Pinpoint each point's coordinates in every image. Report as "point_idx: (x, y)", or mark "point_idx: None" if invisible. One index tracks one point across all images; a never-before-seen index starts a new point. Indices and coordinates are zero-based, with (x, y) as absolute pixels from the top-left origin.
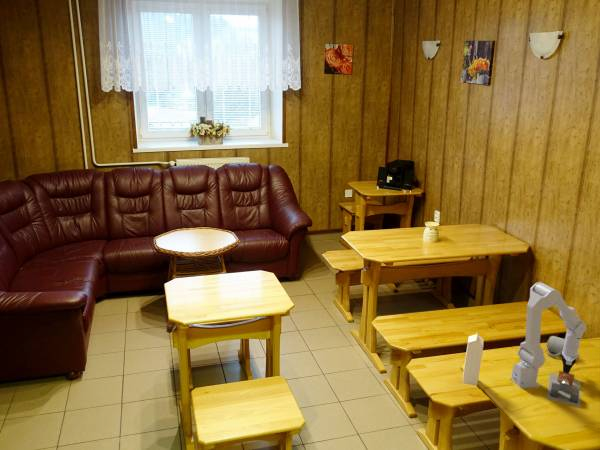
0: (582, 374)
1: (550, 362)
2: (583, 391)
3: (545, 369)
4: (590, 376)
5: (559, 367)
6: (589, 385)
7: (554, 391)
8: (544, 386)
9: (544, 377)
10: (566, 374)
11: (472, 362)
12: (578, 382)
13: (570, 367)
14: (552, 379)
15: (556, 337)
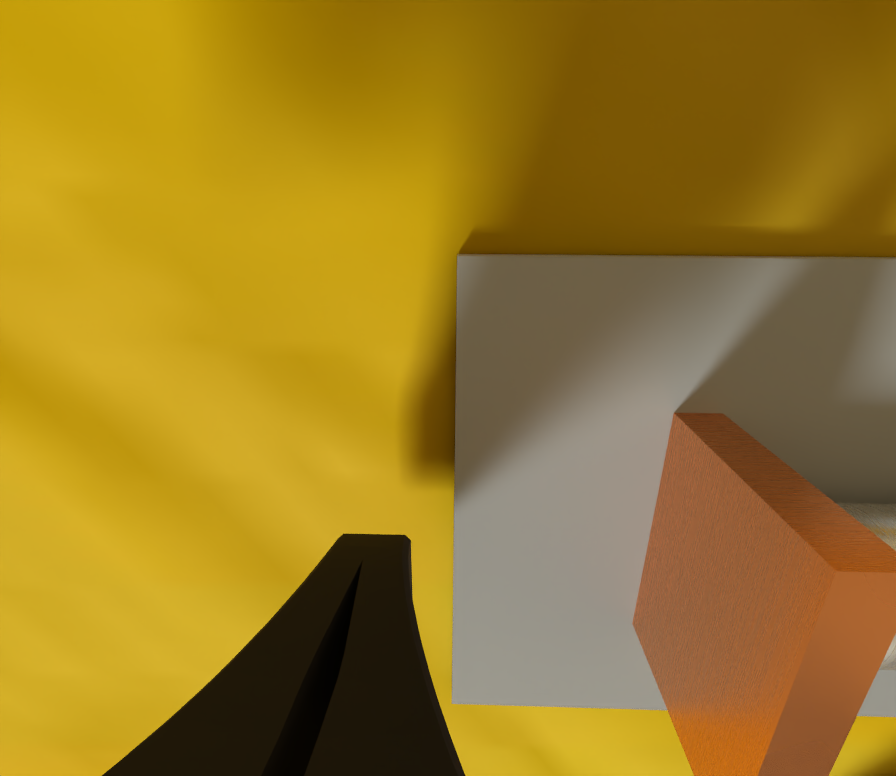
0: (61, 209)
1: (67, 686)
2: (871, 185)
3: None
4: (2, 7)
5: (124, 586)
6: (511, 35)
7: None
8: (867, 735)
9: (595, 738)
10: (827, 716)
11: None
12: (543, 299)
13: (433, 704)
14: (641, 677)
15: None
